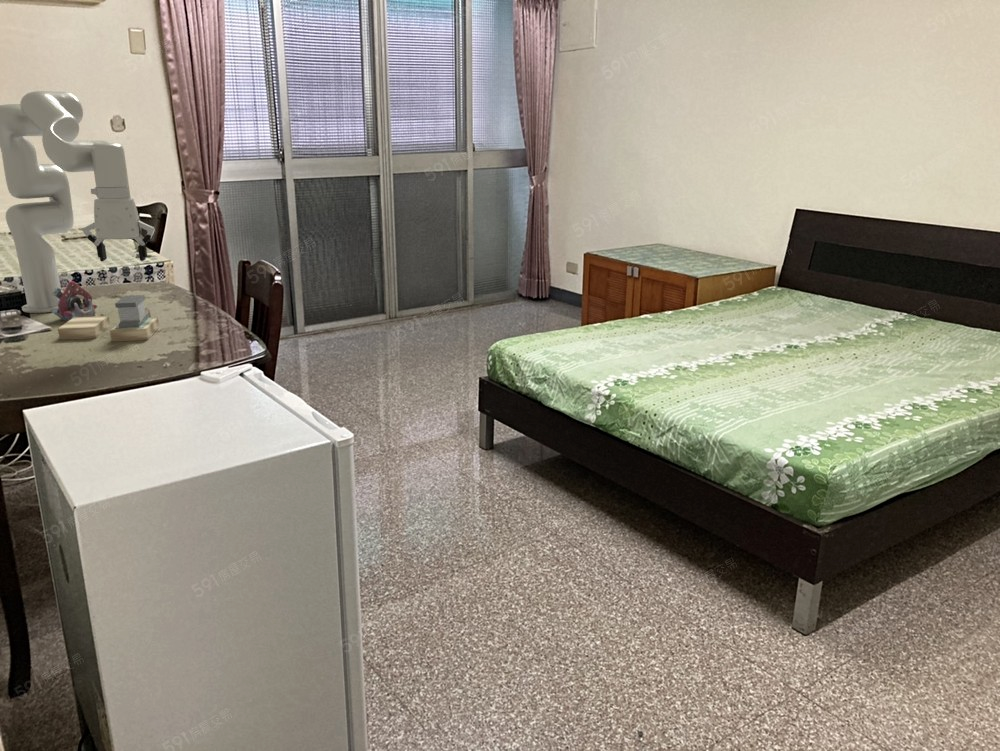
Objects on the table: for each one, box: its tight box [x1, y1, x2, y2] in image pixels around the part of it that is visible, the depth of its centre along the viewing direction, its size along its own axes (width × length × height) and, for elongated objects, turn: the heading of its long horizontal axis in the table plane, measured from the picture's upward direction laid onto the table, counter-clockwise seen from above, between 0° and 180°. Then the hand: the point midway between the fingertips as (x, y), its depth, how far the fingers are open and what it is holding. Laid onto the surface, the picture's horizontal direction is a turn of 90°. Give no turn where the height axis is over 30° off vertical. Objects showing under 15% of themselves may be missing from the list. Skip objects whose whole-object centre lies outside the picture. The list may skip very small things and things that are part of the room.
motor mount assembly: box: [51, 280, 99, 322], centre depth 222 cm, size 11×11×12 cm
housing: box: [114, 294, 149, 328], centre depth 204 cm, size 9×5×7 cm, turn 10°
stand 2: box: [109, 317, 160, 342], centre depth 205 cm, size 12×9×3 cm
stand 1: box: [57, 315, 111, 341], centre depth 207 cm, size 12×9×3 cm
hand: (123, 260), depth 200 cm, fingers open, 9 cm apart
